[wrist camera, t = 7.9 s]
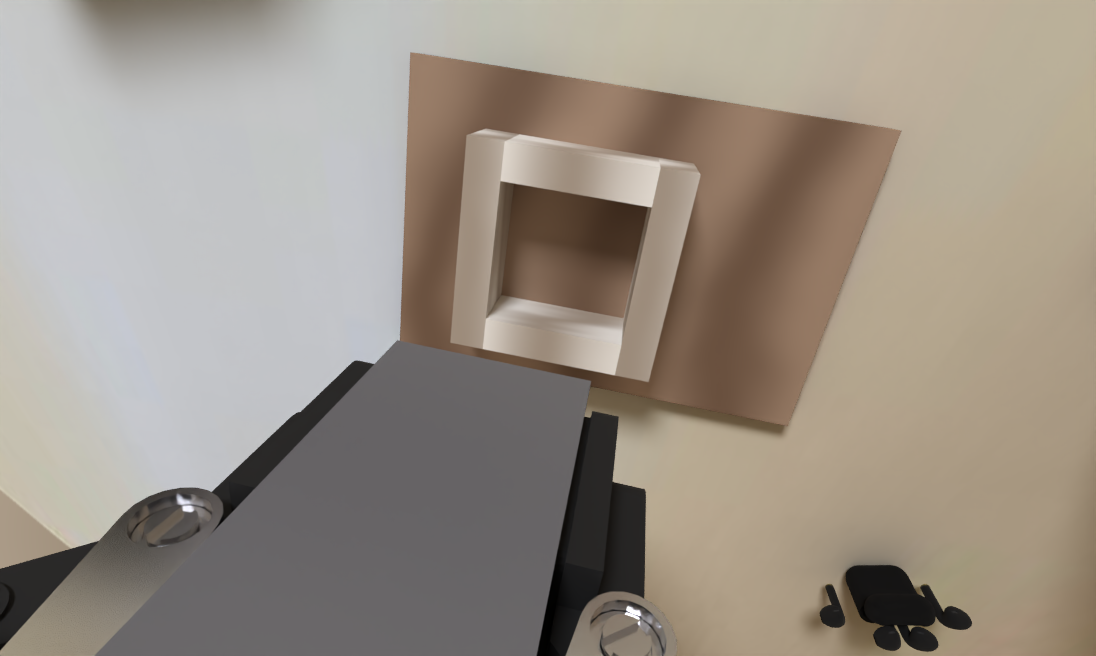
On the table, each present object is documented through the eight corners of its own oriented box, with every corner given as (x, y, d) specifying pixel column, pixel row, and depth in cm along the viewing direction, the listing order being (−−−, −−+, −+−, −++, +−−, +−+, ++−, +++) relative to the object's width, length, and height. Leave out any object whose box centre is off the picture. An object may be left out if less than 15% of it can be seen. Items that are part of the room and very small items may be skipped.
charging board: (891, 128, 23) (937, 138, 20) (782, 415, 29) (802, 463, 25) (419, 53, 25) (380, 49, 21) (406, 339, 31) (375, 375, 27)
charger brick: (591, 381, 11) (511, 776, 5) (560, 532, 13) (472, 972, 7) (397, 340, 12) (90, 659, 5) (392, 492, 13) (155, 872, 7)
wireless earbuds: (805, 579, 33) (831, 659, 29) (806, 546, 32) (833, 623, 28) (939, 579, 32) (989, 664, 27) (944, 545, 31) (997, 626, 26)
